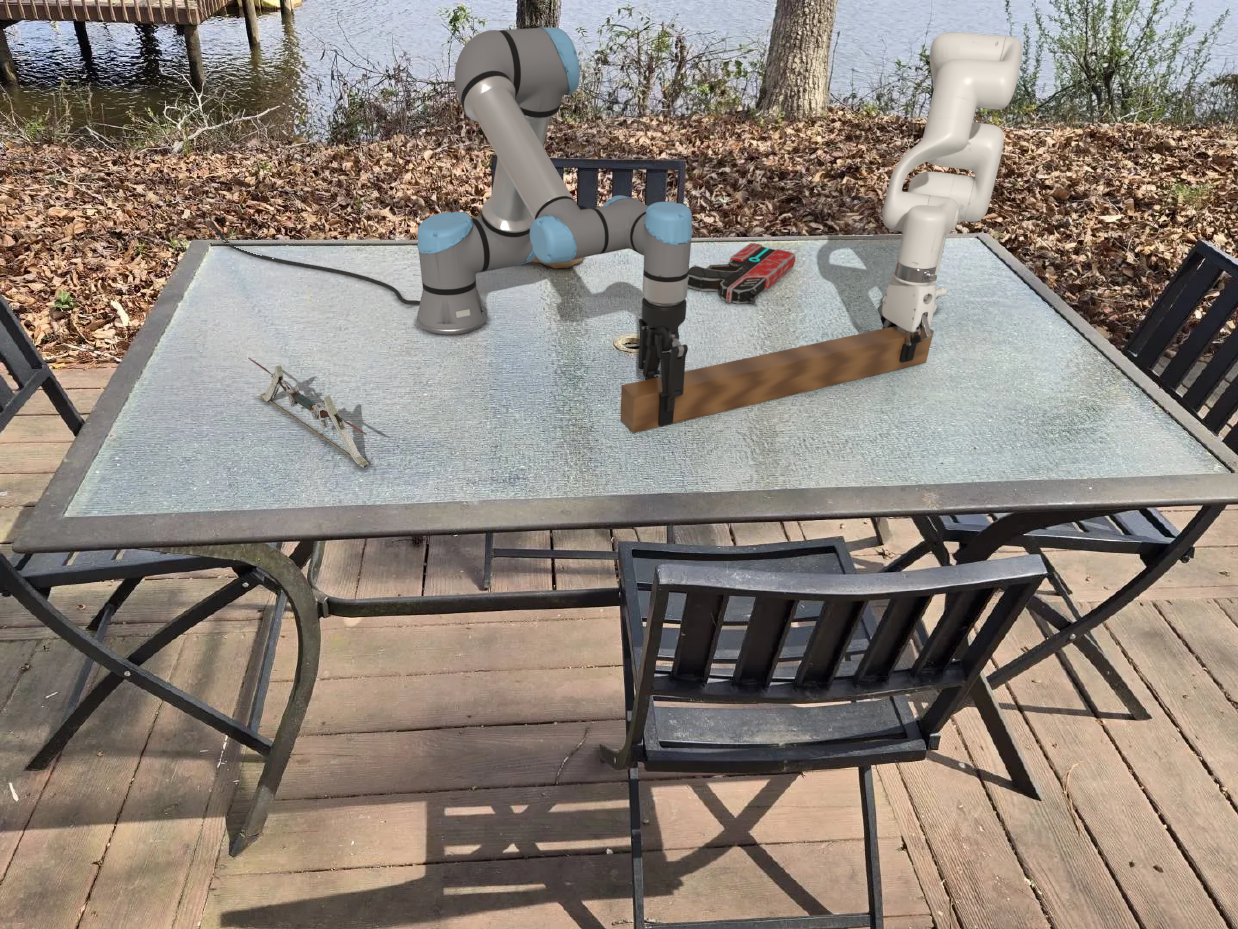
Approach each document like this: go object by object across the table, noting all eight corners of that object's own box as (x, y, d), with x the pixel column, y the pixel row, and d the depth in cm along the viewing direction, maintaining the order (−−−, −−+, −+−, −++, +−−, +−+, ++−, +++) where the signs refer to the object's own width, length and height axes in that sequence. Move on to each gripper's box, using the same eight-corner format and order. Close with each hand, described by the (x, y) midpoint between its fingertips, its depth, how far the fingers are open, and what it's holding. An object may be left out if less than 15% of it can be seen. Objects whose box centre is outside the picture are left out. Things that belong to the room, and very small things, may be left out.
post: (632, 433, 157) (634, 397, 153) (620, 420, 160) (621, 384, 156) (926, 362, 183) (933, 330, 179) (909, 352, 186) (916, 321, 182)
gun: (678, 273, 212) (751, 292, 205) (732, 235, 234) (800, 251, 226) (676, 290, 215) (749, 310, 207) (730, 251, 237) (797, 268, 229)
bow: (378, 470, 147) (371, 419, 141) (369, 475, 146) (361, 423, 140) (261, 391, 168) (250, 343, 163) (252, 394, 167) (241, 347, 162)
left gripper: (711, 314, 142) (700, 436, 155) (658, 275, 156) (652, 390, 169) (671, 322, 140) (663, 445, 153) (620, 282, 153) (617, 398, 166)
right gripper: (961, 283, 166) (939, 369, 176) (900, 253, 179) (883, 335, 189) (931, 290, 163) (910, 376, 173) (871, 259, 176) (855, 341, 186)
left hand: (658, 416), depth 161 cm, fingers closed on post, 5 cm apart
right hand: (896, 354), depth 181 cm, fingers closed on post, 5 cm apart
